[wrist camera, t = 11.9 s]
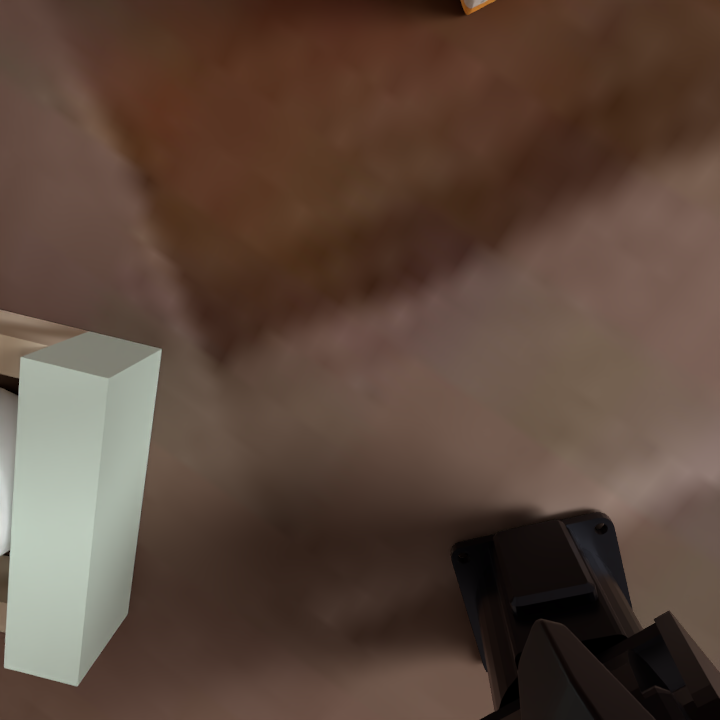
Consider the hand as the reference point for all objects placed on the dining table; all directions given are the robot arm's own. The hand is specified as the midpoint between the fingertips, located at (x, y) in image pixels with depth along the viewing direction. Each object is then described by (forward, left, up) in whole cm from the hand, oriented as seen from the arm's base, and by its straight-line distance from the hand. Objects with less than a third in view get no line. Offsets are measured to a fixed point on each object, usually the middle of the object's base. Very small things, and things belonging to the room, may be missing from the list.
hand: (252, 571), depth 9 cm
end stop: (-3, +11, -13) cm, 17 cm away
